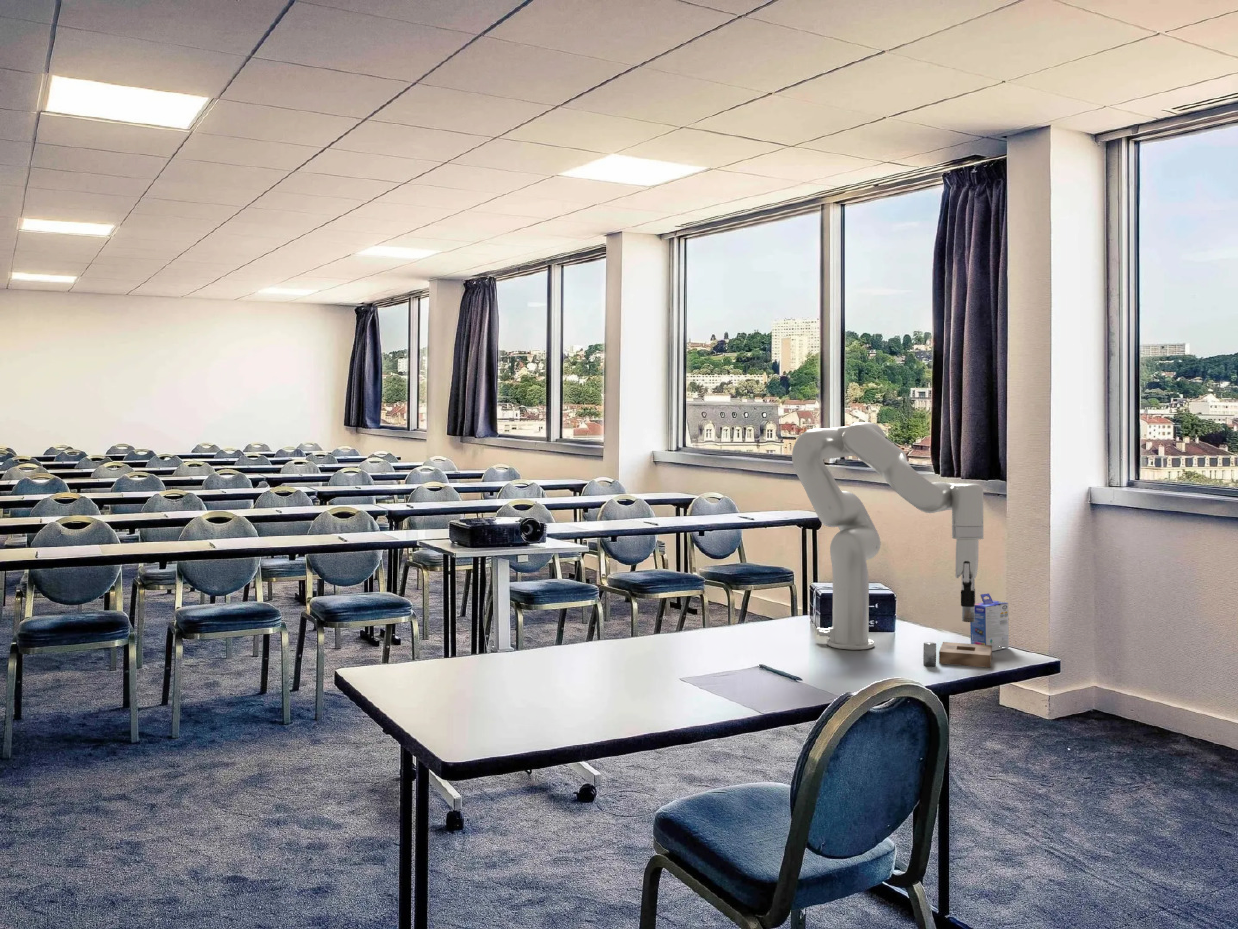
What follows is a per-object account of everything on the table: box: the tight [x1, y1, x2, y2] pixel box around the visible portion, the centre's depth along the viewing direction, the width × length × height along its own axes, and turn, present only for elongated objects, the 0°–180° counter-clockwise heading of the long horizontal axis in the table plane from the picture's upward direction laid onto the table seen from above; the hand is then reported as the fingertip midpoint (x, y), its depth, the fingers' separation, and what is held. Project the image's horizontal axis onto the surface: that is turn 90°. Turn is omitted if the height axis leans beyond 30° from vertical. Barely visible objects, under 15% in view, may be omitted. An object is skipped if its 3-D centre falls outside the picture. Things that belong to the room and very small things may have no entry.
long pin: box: [961, 573, 976, 623], centre depth 261 cm, size 3×3×12 cm
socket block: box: [938, 641, 993, 668], centre depth 262 cm, size 12×12×3 cm
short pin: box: [922, 641, 937, 668], centre depth 256 cm, size 3×3×6 cm
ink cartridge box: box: [969, 593, 1010, 652], centre depth 275 cm, size 10×6×14 cm, turn 124°
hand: (968, 604), depth 261 cm, fingers closed on long pin, 3 cm apart
